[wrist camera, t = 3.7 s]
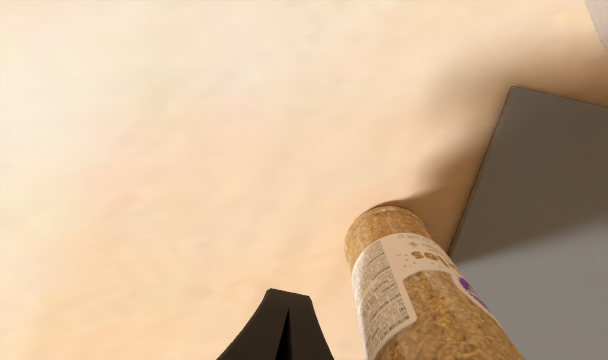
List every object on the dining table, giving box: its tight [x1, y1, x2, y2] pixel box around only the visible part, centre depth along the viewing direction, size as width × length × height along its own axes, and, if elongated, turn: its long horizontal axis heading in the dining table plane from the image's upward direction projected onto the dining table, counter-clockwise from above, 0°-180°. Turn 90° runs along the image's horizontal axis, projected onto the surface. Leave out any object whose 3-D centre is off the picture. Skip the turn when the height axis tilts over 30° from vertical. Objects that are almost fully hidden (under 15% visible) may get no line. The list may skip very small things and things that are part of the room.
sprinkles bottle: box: [344, 206, 525, 360], centre depth 11 cm, size 5×5×13 cm
